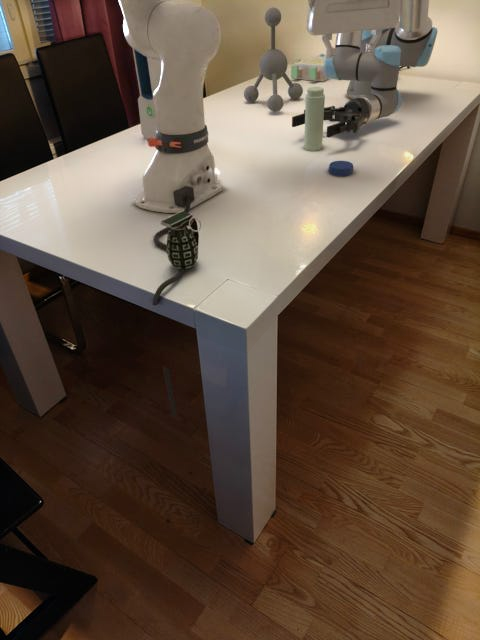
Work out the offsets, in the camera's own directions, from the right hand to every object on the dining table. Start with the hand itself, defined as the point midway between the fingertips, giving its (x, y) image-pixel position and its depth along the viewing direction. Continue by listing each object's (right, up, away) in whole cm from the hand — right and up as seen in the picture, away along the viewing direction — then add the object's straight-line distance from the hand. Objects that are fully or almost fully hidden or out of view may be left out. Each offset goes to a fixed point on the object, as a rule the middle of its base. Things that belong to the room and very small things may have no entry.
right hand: (309, 126), depth 135 cm
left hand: (+5, +5, -27) cm, 28 cm away
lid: (+6, -15, -12) cm, 20 cm away
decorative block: (+14, +52, +76) cm, 93 cm away
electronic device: (-43, +3, +18) cm, 47 cm away
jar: (+2, -4, +5) cm, 6 cm away
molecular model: (-5, +26, +43) cm, 51 cm away
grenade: (-30, -44, -44) cm, 68 cm away
